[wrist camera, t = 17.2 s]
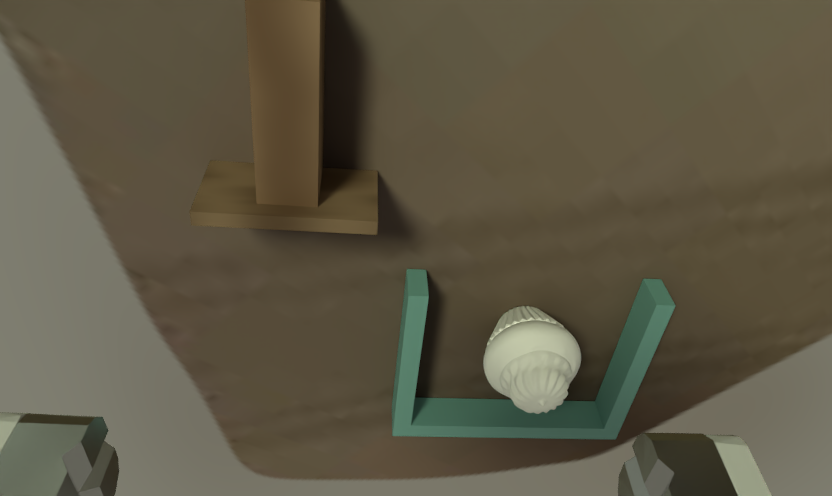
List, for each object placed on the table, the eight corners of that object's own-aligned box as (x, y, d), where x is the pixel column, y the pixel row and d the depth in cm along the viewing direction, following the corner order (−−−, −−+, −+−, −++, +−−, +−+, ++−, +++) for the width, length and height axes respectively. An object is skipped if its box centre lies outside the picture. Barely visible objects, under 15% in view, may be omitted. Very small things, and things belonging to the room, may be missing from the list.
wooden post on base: (391, -19, 30) (393, 16, 26) (376, 182, 36) (376, 234, 32) (190, -37, 29) (161, -4, 25) (212, 172, 35) (191, 225, 31)
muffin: (522, 367, 46) (543, 451, 40) (457, 330, 43) (469, 415, 38) (587, 314, 43) (618, 397, 38) (521, 273, 41) (544, 354, 35)
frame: (661, 279, 42) (675, 305, 40) (606, 412, 49) (615, 439, 47) (406, 269, 40) (408, 295, 38) (391, 407, 48) (392, 436, 46)
